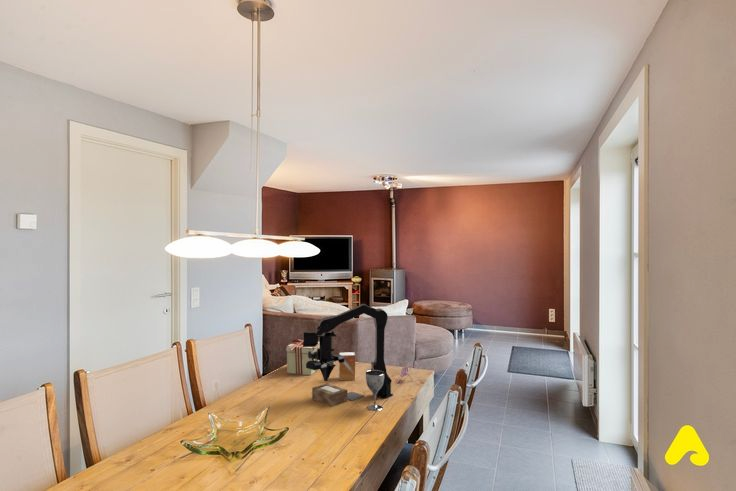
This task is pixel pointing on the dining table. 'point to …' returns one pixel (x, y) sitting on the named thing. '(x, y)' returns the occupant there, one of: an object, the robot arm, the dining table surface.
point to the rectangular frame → (329, 395)
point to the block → (330, 389)
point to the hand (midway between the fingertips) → (325, 380)
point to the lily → (404, 372)
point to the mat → (353, 396)
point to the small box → (347, 366)
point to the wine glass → (374, 386)
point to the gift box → (299, 358)
